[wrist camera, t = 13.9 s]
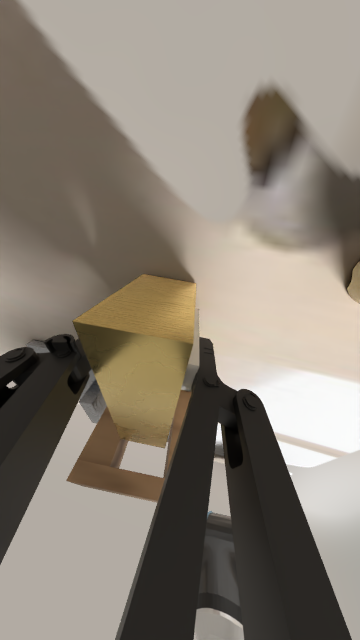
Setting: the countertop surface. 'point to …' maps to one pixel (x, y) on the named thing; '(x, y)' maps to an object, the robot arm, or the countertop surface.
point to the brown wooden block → (106, 455)
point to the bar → (141, 353)
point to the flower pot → (355, 284)
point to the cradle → (91, 393)
